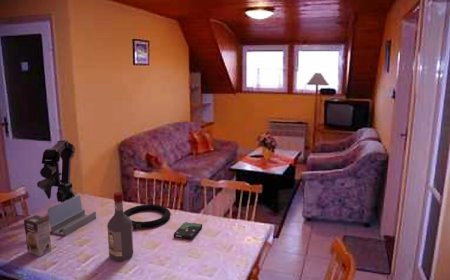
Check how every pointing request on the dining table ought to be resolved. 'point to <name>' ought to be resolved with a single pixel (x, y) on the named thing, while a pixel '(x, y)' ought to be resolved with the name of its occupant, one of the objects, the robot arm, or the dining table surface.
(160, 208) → the cable lock
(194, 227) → the disk drive
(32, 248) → the coffee box
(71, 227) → the grey tray with bar
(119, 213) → the liquor
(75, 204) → the cover
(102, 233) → the dining table surface
